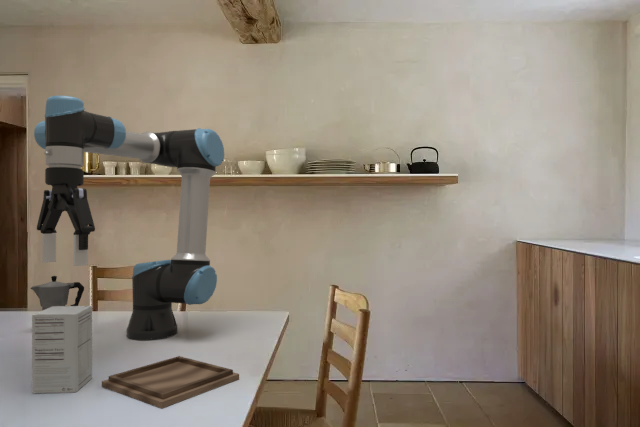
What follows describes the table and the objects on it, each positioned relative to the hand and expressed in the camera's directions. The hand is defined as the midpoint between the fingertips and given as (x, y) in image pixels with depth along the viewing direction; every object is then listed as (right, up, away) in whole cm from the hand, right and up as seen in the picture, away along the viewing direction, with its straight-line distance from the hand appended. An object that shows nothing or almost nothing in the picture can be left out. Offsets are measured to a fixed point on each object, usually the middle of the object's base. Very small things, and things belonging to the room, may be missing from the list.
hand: (64, 264), depth 108 cm
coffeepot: (-29, -27, +51) cm, 65 cm away
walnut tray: (+23, -27, +2) cm, 36 cm away
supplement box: (0, -27, 0) cm, 27 cm away
